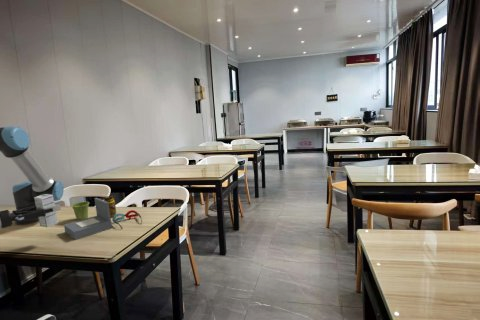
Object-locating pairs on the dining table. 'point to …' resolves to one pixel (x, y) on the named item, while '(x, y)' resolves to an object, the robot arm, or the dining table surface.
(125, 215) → the novelty glasses
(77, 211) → the plant pot
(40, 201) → the syrup box
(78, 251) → the dining table surface
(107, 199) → the condiment
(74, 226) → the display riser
